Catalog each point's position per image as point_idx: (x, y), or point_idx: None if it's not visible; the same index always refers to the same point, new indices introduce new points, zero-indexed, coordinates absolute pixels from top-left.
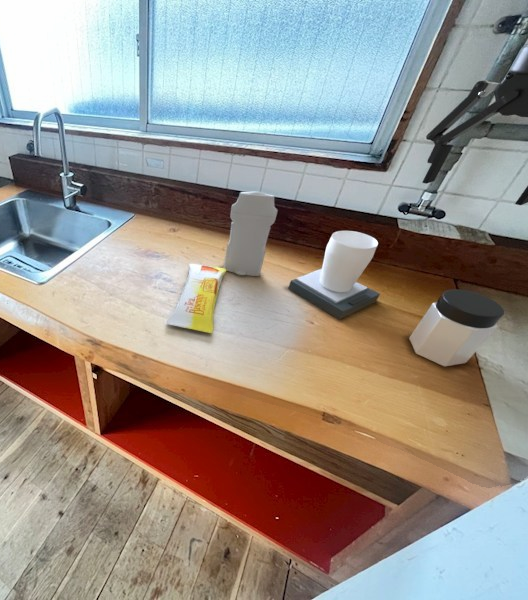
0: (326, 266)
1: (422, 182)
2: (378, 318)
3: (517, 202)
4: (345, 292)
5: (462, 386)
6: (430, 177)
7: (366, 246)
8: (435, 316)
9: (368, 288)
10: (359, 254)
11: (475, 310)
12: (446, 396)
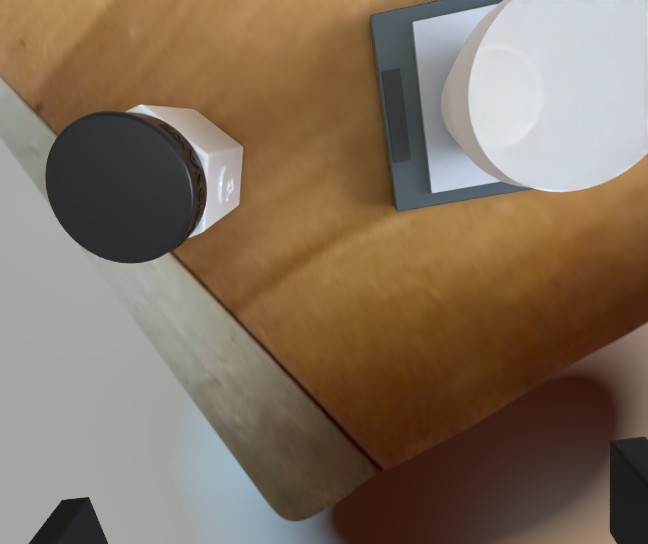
0: (545, 12)
1: (643, 438)
2: (334, 146)
3: (73, 506)
4: (440, 97)
5: (88, 113)
6: (638, 490)
7: (533, 187)
8: (170, 121)
9: (433, 202)
10: (476, 39)
11: (80, 152)
12: (69, 45)
